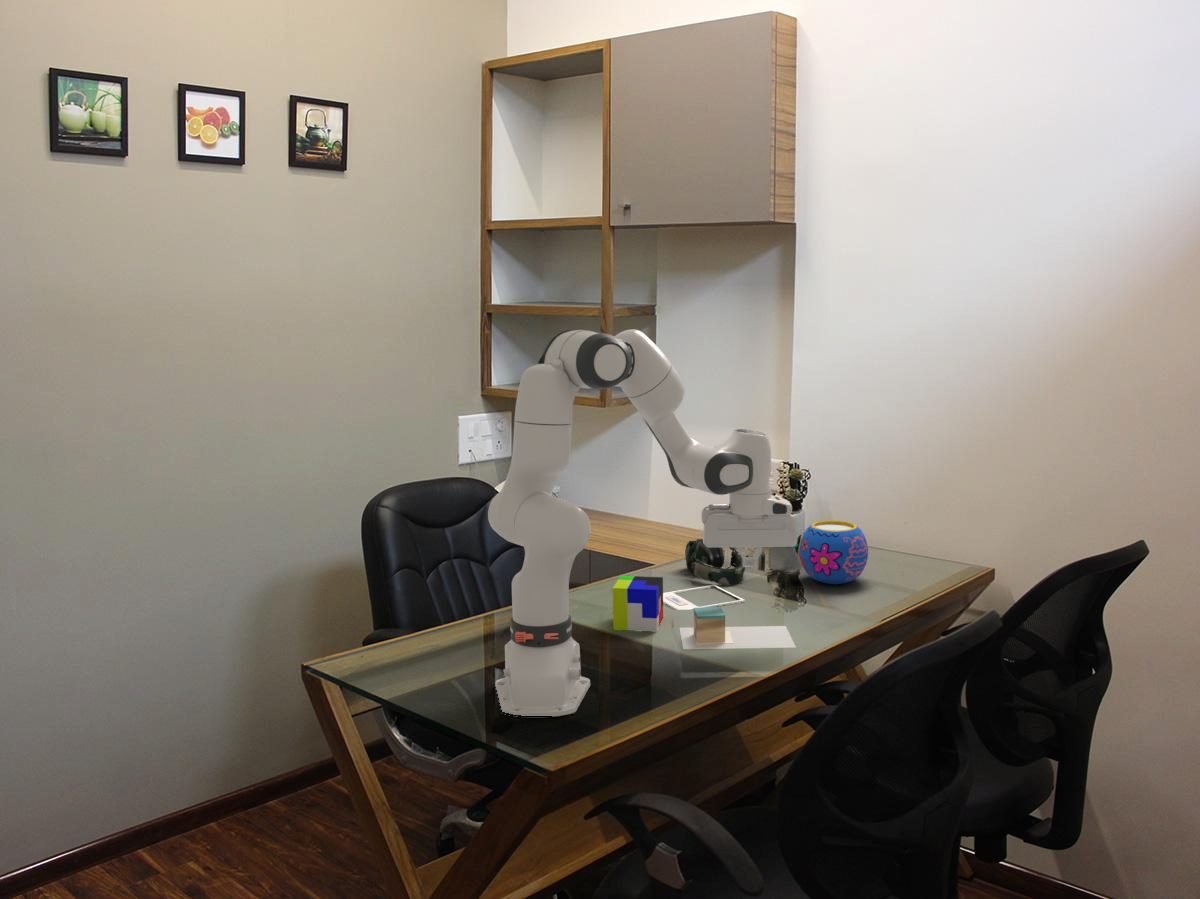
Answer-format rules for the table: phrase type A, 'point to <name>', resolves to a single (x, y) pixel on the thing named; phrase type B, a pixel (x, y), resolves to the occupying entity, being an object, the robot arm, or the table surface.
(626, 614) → the puzzle toy
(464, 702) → the table surface
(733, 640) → the grey board
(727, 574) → the headphones
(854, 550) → the ceramic pot
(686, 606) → the photo frame
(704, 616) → the wood cube
